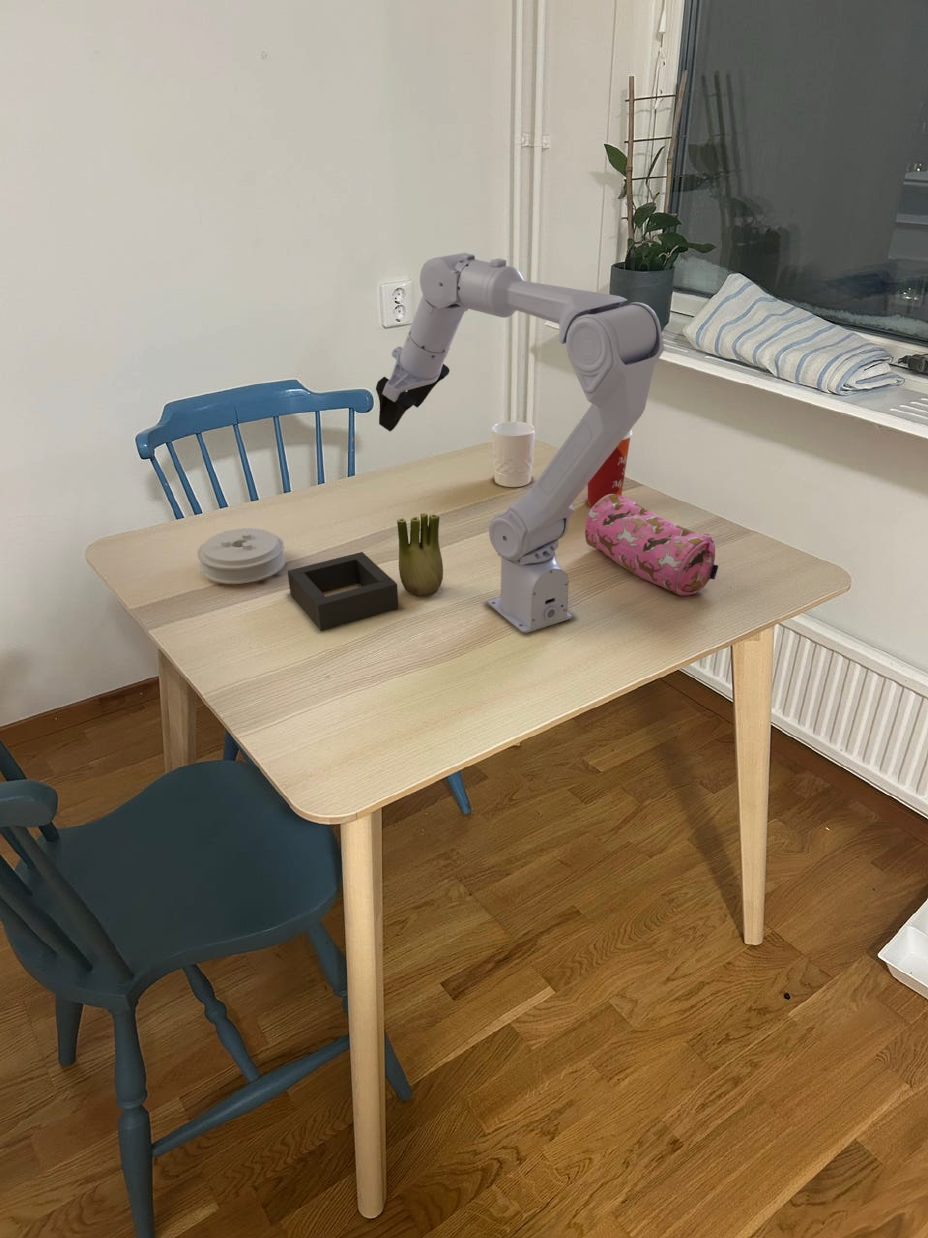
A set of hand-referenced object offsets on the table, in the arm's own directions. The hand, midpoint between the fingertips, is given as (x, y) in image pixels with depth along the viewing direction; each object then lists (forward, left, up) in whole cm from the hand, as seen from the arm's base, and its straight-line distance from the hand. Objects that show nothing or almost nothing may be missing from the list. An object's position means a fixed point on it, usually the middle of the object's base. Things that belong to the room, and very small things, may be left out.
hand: (399, 414), depth 127 cm
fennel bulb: (-12, +3, -22) cm, 26 cm away
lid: (+8, +23, -22) cm, 33 cm away
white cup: (+17, -31, -22) cm, 41 cm away
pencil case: (-23, -29, -22) cm, 43 cm away
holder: (-9, +14, -22) cm, 28 cm away
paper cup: (0, -39, -22) cm, 45 cm away
